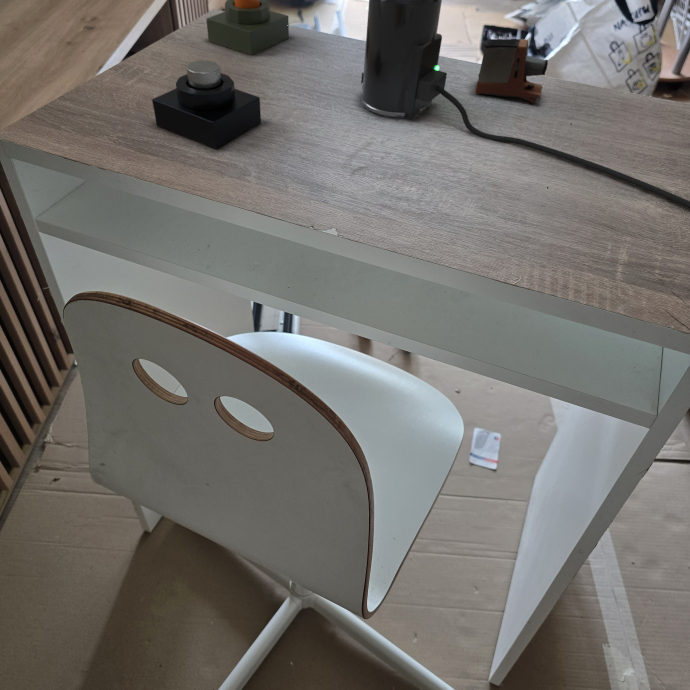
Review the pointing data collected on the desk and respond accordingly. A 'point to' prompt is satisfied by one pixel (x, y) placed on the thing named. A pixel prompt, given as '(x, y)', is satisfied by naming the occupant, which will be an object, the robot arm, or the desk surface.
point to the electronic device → (509, 70)
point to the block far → (247, 27)
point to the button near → (204, 75)
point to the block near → (207, 112)
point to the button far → (247, 3)
